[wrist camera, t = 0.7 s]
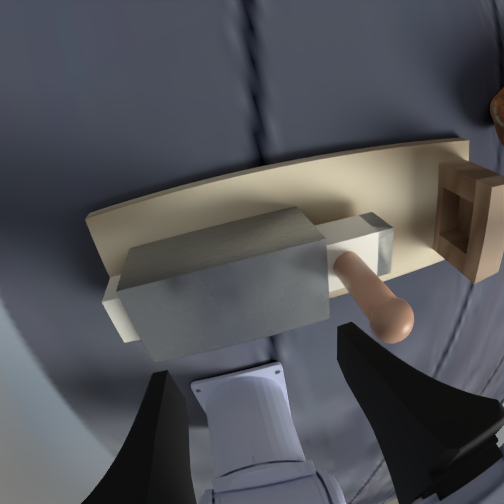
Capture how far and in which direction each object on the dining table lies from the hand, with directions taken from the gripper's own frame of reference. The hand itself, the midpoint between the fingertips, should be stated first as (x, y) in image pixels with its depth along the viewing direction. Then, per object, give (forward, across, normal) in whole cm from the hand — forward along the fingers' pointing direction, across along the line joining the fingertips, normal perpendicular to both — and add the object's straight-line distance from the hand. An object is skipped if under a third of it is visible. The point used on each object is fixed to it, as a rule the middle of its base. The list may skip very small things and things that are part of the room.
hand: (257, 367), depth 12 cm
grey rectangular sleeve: (+9, 0, 0) cm, 9 cm away
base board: (+9, -6, 0) cm, 11 cm away
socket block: (+9, -17, 0) cm, 19 cm away
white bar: (+7, -1, 0) cm, 7 cm away
